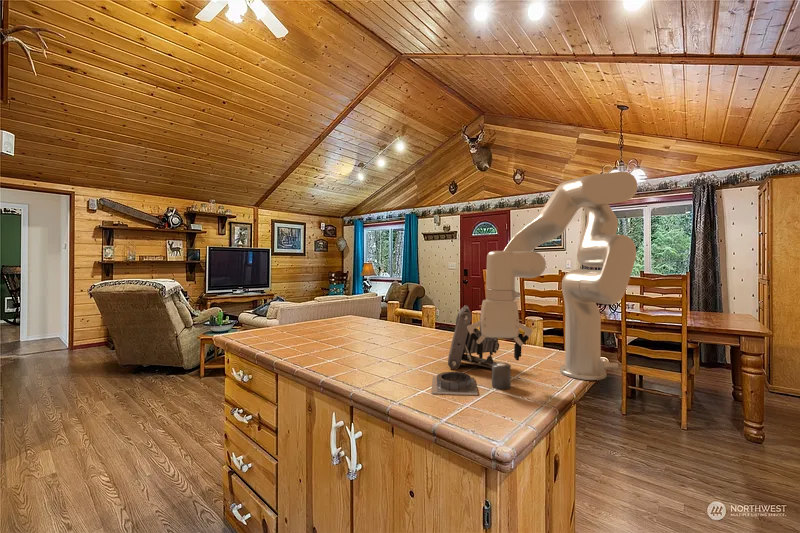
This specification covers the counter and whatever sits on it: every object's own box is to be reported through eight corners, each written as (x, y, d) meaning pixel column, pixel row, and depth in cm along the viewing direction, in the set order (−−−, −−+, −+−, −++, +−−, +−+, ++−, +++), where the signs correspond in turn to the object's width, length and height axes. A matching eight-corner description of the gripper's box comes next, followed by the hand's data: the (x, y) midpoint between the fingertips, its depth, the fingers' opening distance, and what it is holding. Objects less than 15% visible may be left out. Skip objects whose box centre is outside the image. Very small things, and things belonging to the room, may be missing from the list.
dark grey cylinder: (508, 383, 101) (508, 362, 100) (512, 390, 96) (512, 367, 95) (490, 383, 101) (490, 361, 101) (493, 389, 96) (493, 367, 96)
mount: (473, 379, 104) (473, 370, 104) (477, 395, 92) (477, 385, 92) (432, 378, 106) (432, 369, 106) (431, 393, 94) (431, 384, 94)
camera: (496, 383, 111) (513, 321, 110) (443, 366, 114) (459, 306, 113) (494, 372, 122) (509, 316, 121) (446, 357, 125) (460, 302, 124)
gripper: (529, 295, 100) (527, 356, 101) (467, 293, 102) (465, 353, 103) (536, 298, 93) (534, 363, 93) (468, 296, 95) (467, 360, 95)
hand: (498, 358), depth 98 cm, fingers open, 9 cm apart
